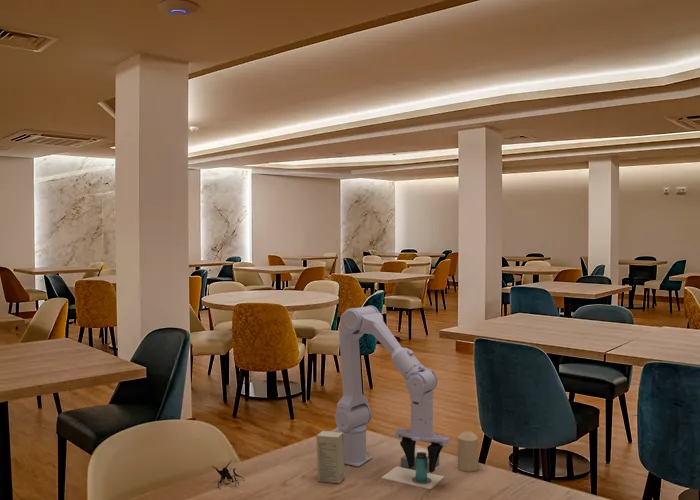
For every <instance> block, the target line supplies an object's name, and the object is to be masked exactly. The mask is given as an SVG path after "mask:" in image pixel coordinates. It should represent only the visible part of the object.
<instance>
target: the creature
mask: <svg viewBox="0 0 700 500" xmlns="http://www.w3.org/2000/svg"><path fill="white" fill-rule="evenodd" d="M231 462H232V460H230V461H229V463H227V465H226V466H224V467H223V468H222V469H221V470H220V469H219V468H218V467H216V466H214V465H211V467H212V468H213V469H215V470H216V471H217V473H218V474H219V475H220V480H219V481H218V484H217V487H218V489H219V490H221V488H220V486H219V485H220V483H221V484H222V481H225V480H227V481H230V480H232V481H231V483H234V482H237V483H234V484H235V487H237V486H240V483H239V480H237V479H236V477H239V478H242V479H243V480H245V479H244V477H243V476H241V475H238V474H237V473H236V472H235V471H236V469H237V468H236V467H235V468H232V472H233V474H232V475H231V470H230V469H228V466H229V465H230V464H231Z"/></svg>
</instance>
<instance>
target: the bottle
mask: <svg viewBox="0 0 700 500" xmlns="http://www.w3.org/2000/svg"><path fill="white" fill-rule="evenodd" d="M416 481H417V482H420V483H424V482H427V457H426V453H425V452H418V453H417V456H416Z"/></svg>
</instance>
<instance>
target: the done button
mask: <svg viewBox="0 0 700 500" xmlns="http://www.w3.org/2000/svg"><path fill="white" fill-rule="evenodd" d="M418 452H425V453H426V457H427V459H428V449H427V447H426V448H425V447H415V459H416V456H417V453H418Z"/></svg>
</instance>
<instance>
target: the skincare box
mask: <svg viewBox="0 0 700 500" xmlns="http://www.w3.org/2000/svg"><path fill="white" fill-rule="evenodd" d="M316 458H317V459H316V460H317V461H316V462H317V481H318V482H322V483H323V482H324V483H332V484H340V483H341V482H342V481H344V479H345V477H346V475H345V464H344V435H343V432H333V431H329V430H322V431H321V432H319V433H318V434H317V435H316Z"/></svg>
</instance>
